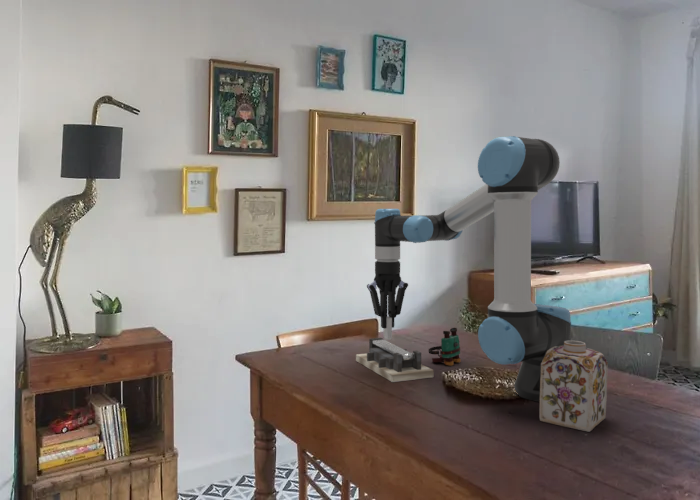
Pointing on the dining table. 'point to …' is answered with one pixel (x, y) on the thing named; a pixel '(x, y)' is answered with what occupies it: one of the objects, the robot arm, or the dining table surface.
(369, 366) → the heatsink mount
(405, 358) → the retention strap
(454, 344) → the binoculars
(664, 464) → the dining table surface
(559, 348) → the decorative jar
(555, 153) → the robot arm
